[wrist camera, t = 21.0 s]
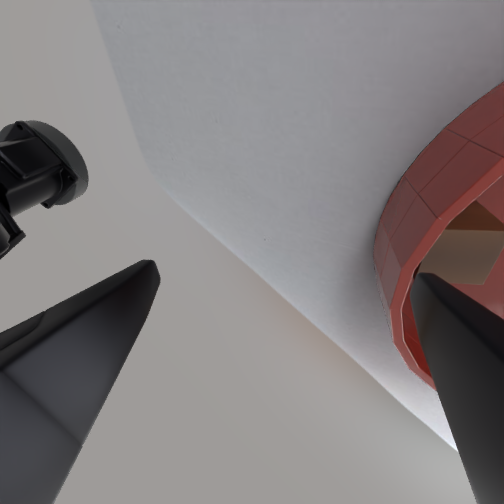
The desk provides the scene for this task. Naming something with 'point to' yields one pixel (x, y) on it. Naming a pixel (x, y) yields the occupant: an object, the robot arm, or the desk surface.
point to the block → (466, 247)
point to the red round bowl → (441, 217)
